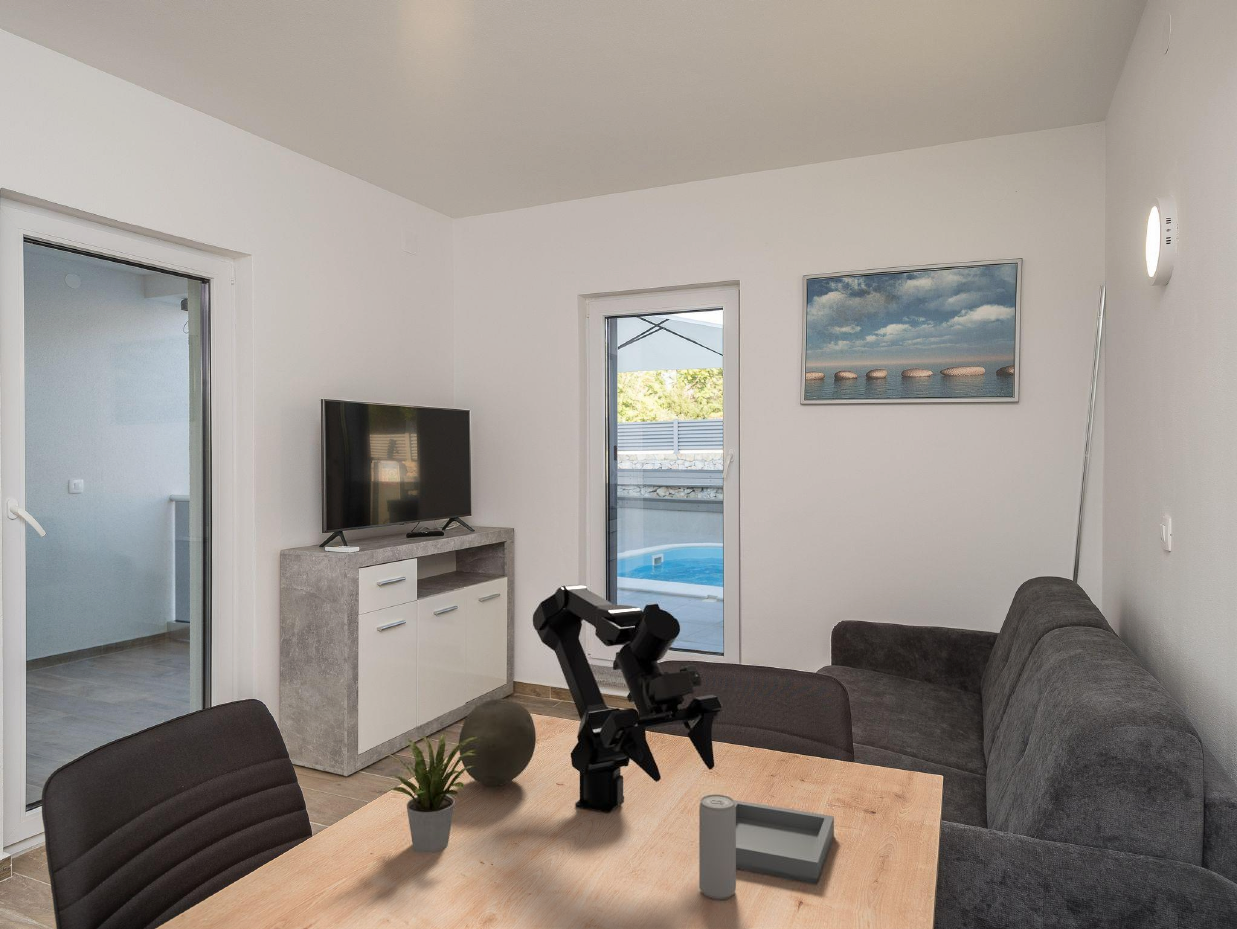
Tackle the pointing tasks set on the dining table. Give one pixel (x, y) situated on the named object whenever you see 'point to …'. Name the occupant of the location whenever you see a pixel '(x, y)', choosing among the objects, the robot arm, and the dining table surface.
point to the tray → (782, 841)
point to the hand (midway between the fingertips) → (685, 774)
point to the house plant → (431, 796)
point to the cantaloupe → (498, 741)
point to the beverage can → (717, 846)
